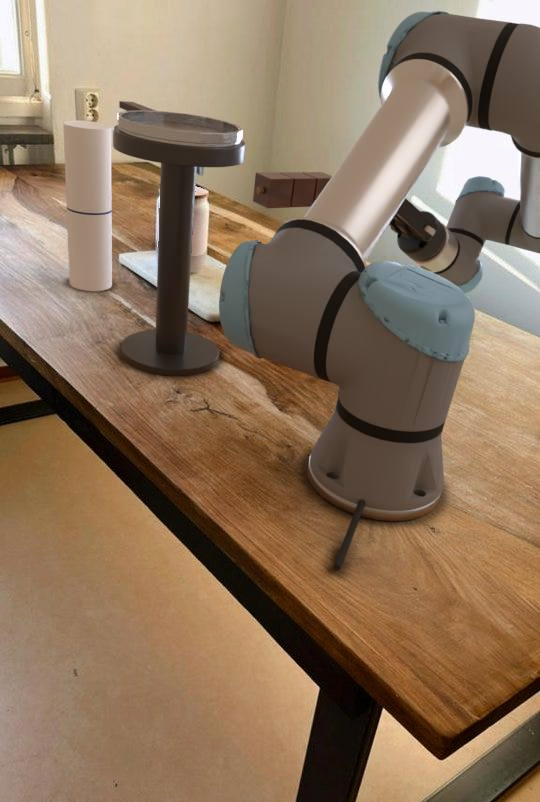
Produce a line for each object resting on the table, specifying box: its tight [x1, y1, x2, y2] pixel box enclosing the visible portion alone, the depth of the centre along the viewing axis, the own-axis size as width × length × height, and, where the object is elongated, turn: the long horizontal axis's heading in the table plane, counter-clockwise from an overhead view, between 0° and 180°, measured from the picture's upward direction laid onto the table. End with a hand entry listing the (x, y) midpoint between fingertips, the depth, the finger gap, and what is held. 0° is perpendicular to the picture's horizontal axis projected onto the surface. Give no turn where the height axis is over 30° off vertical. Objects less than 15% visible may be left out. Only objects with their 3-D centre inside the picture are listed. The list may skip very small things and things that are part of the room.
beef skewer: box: [252, 171, 333, 209], centre depth 101 cm, size 25×4×4 cm, turn 125°
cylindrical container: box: [62, 119, 113, 292], centre depth 113 cm, size 7×7×25 cm
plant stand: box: [112, 100, 246, 377], centre depth 94 cm, size 16×23×30 cm
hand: (349, 168), depth 101 cm, fingers closed on beef skewer, 2 cm apart
